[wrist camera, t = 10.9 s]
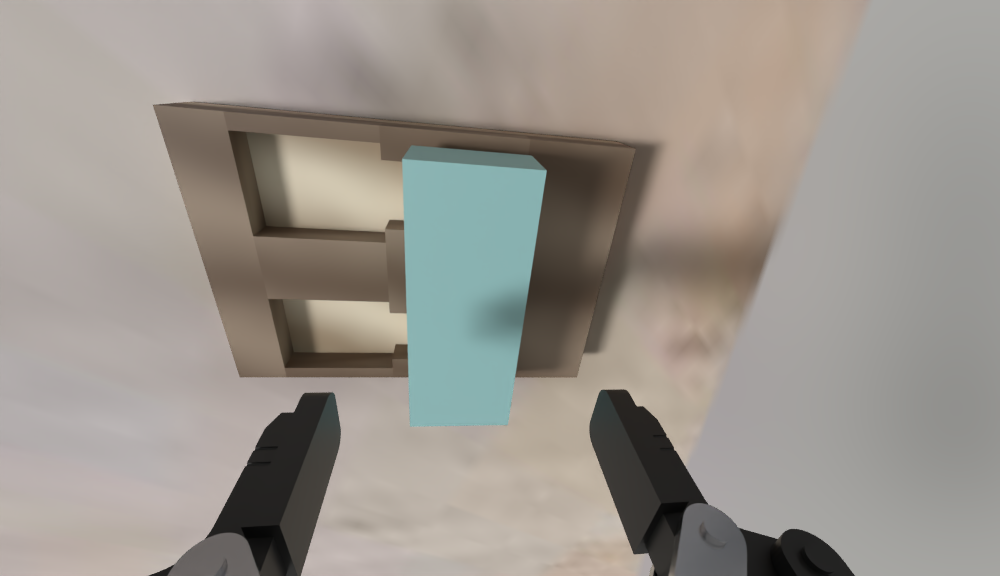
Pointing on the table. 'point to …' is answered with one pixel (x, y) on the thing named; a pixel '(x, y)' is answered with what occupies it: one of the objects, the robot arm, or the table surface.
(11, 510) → the table surface
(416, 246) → the panel
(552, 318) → the slot board
